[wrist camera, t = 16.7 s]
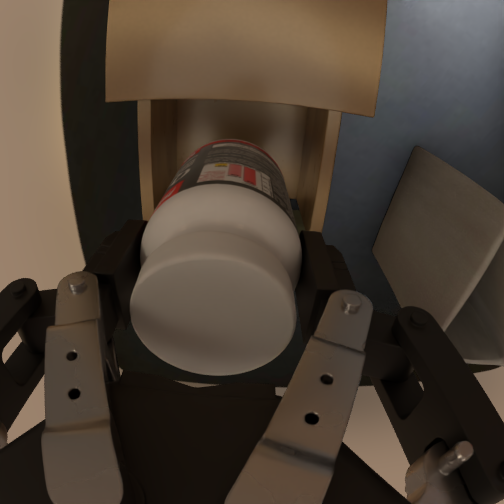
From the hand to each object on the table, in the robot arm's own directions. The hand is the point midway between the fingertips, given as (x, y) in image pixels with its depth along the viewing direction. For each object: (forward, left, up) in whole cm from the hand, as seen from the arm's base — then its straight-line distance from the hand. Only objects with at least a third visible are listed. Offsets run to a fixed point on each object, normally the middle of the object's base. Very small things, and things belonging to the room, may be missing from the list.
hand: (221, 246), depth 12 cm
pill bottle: (0, 0, -6) cm, 6 cm away
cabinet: (-10, +7, -15) cm, 20 cm away
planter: (+15, +9, -16) cm, 24 cm away
